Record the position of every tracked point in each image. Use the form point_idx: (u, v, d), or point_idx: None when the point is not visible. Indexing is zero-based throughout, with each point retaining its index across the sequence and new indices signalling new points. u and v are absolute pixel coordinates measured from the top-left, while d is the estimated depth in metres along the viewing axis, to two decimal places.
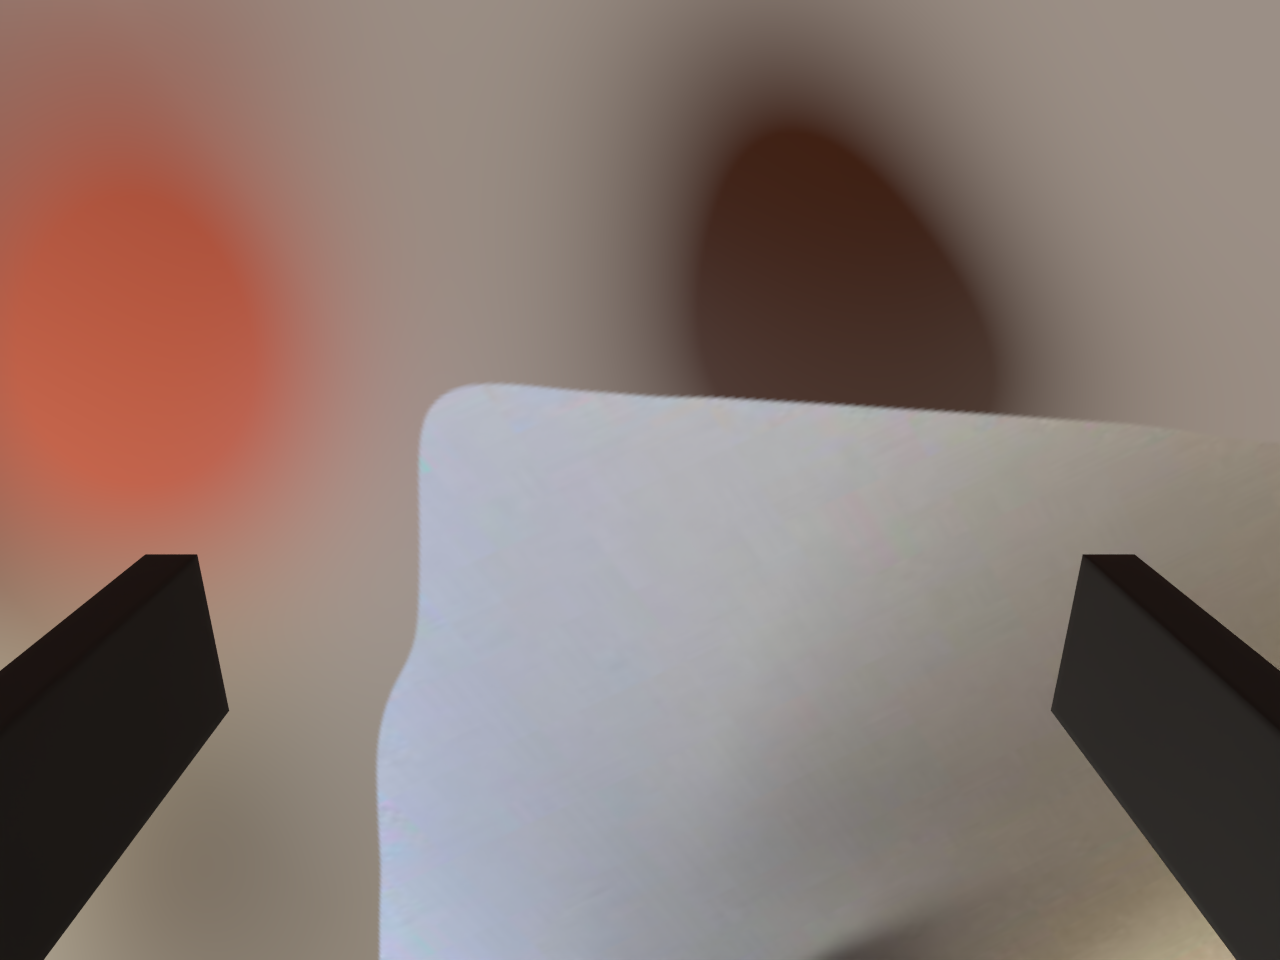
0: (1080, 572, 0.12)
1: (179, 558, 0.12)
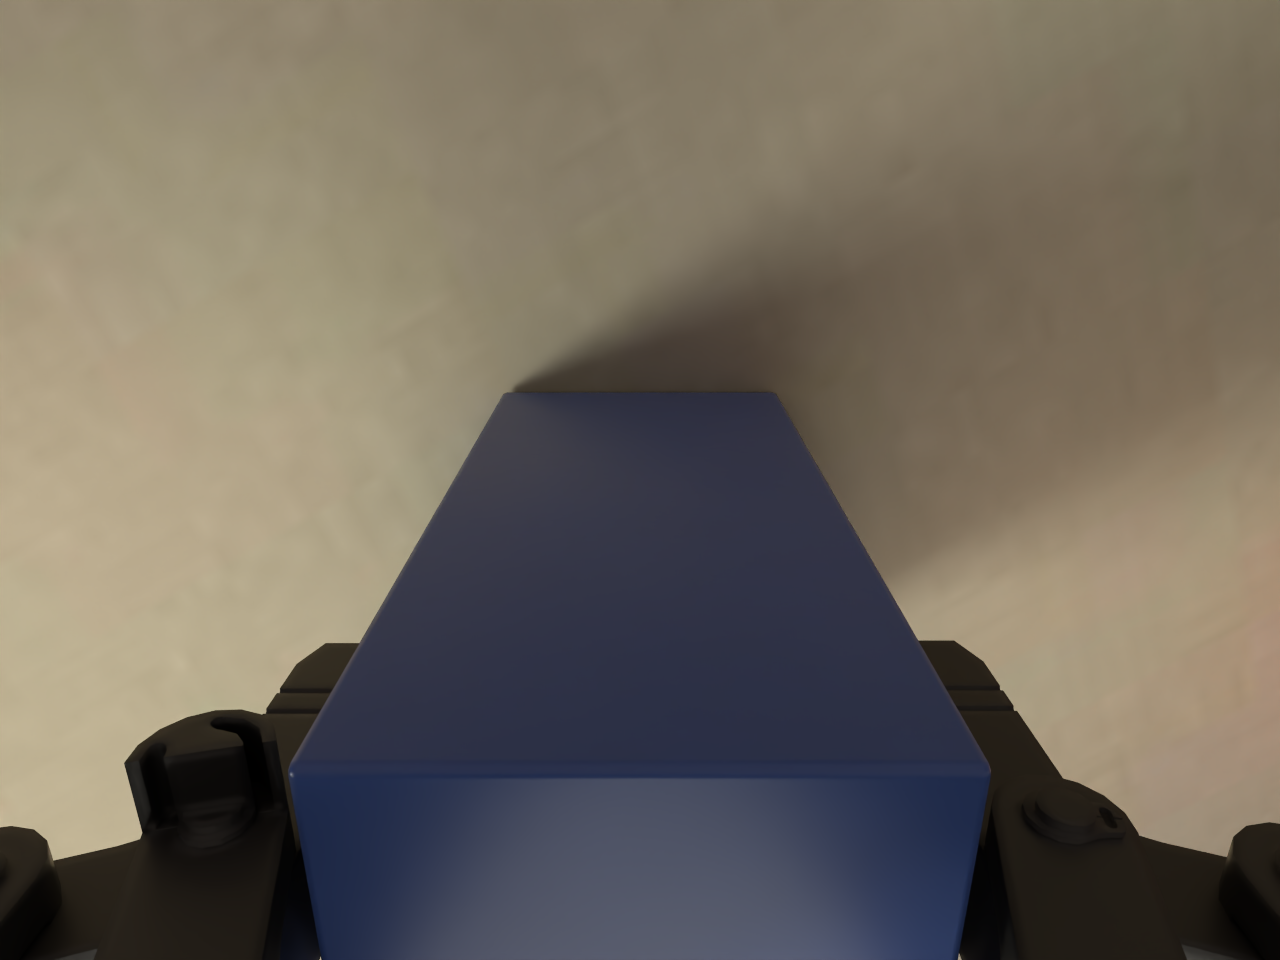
0: None
1: None
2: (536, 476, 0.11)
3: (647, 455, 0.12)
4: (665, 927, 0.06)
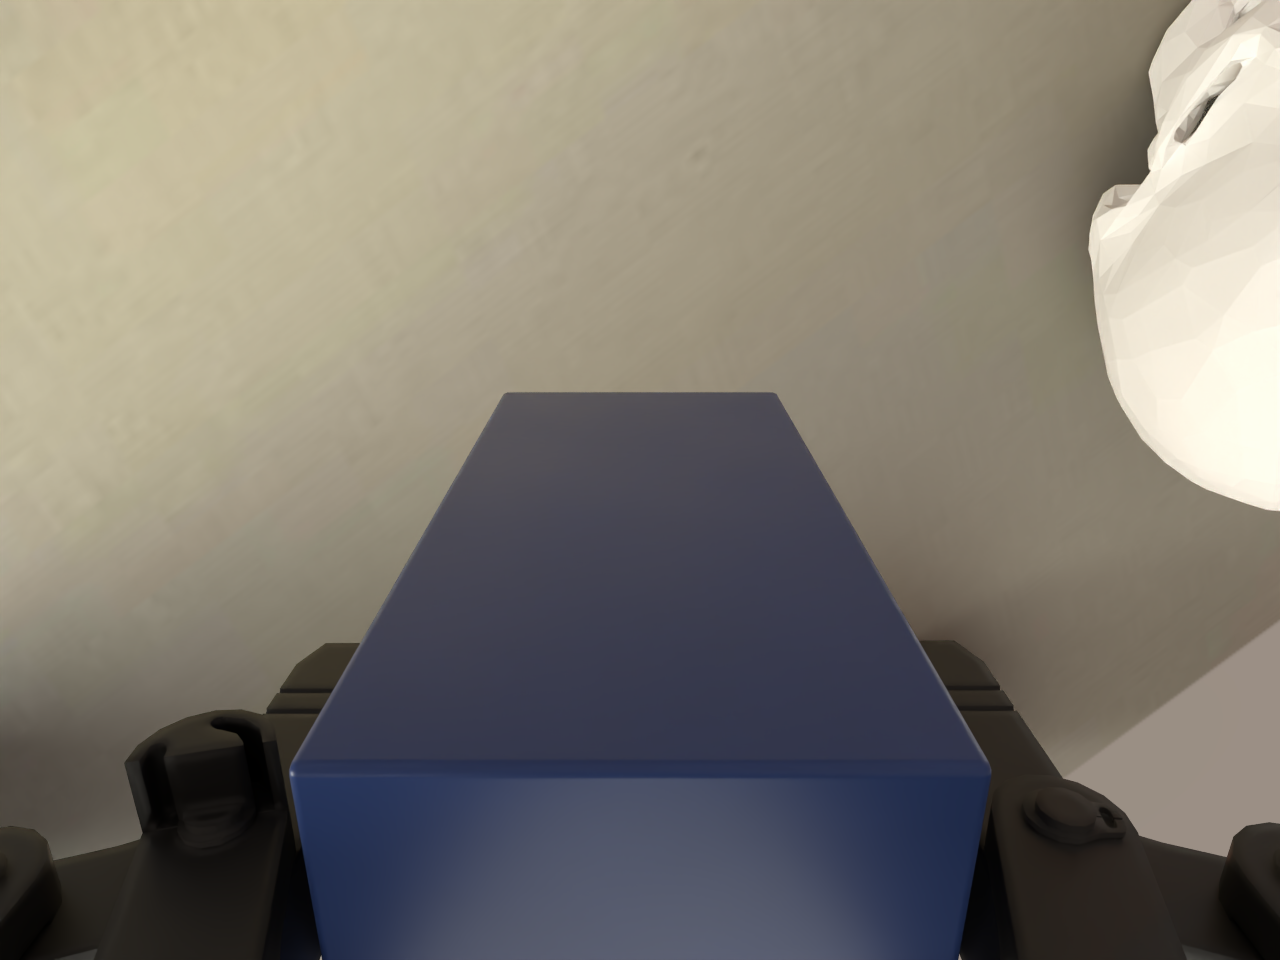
0: None
1: None
2: (537, 475, 0.11)
3: (647, 456, 0.12)
4: (666, 927, 0.06)
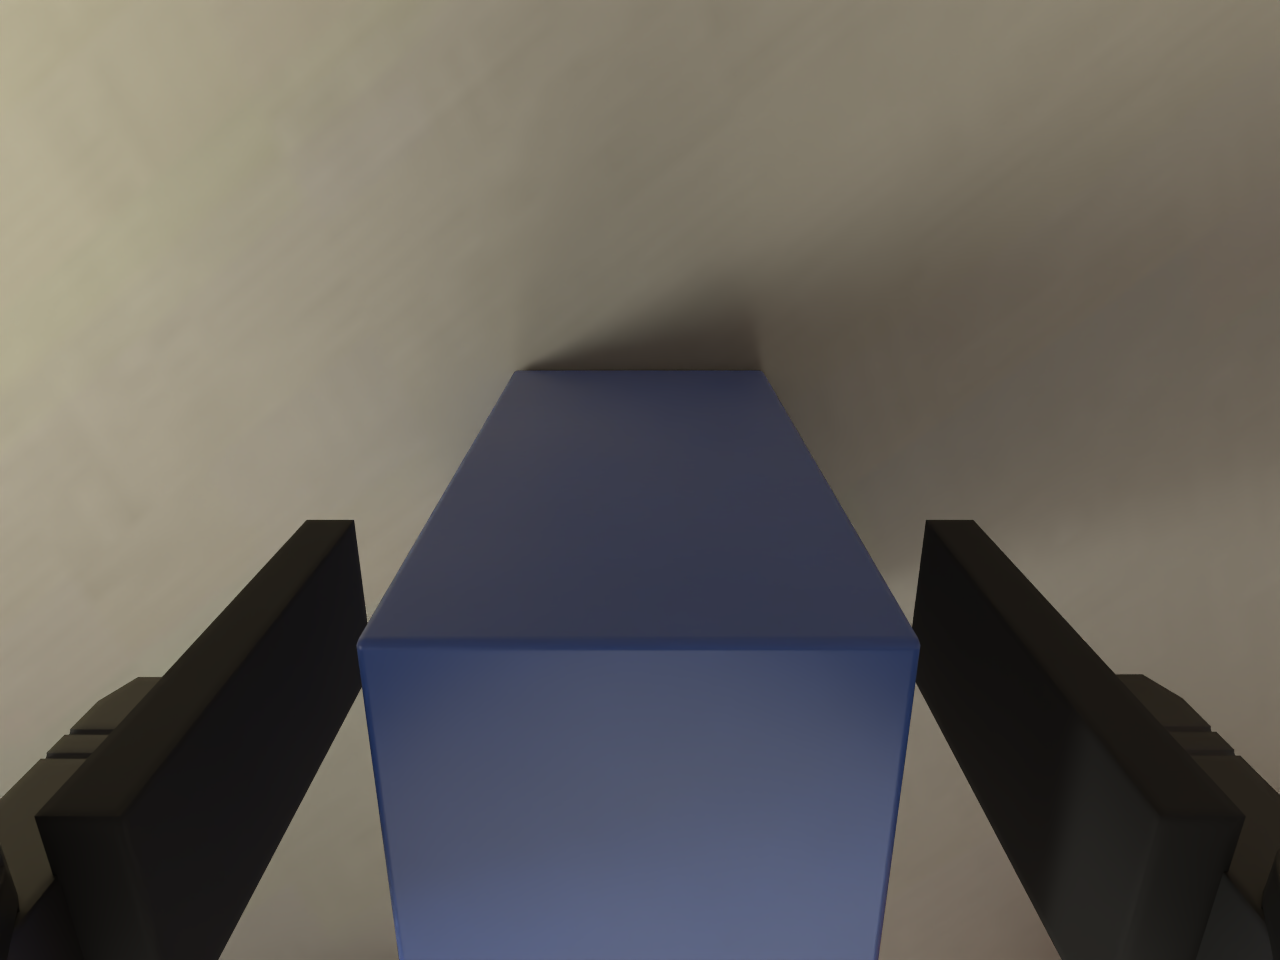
0: (924, 536, 0.14)
1: (339, 523, 0.13)
2: (547, 437, 0.13)
3: (645, 421, 0.14)
4: (660, 778, 0.08)
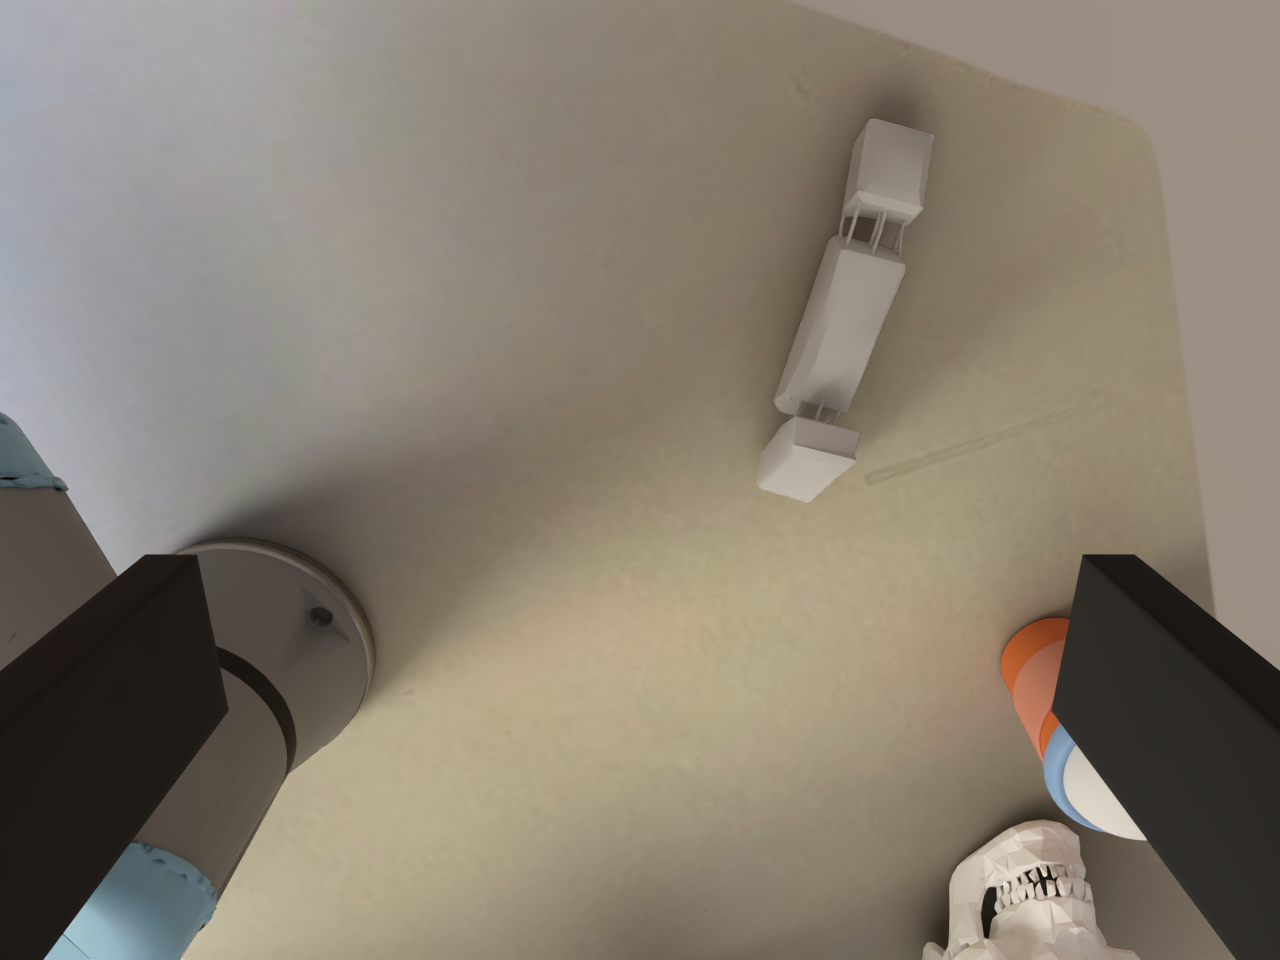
0: (1080, 572, 0.12)
1: (179, 558, 0.12)
2: None
3: None
4: None
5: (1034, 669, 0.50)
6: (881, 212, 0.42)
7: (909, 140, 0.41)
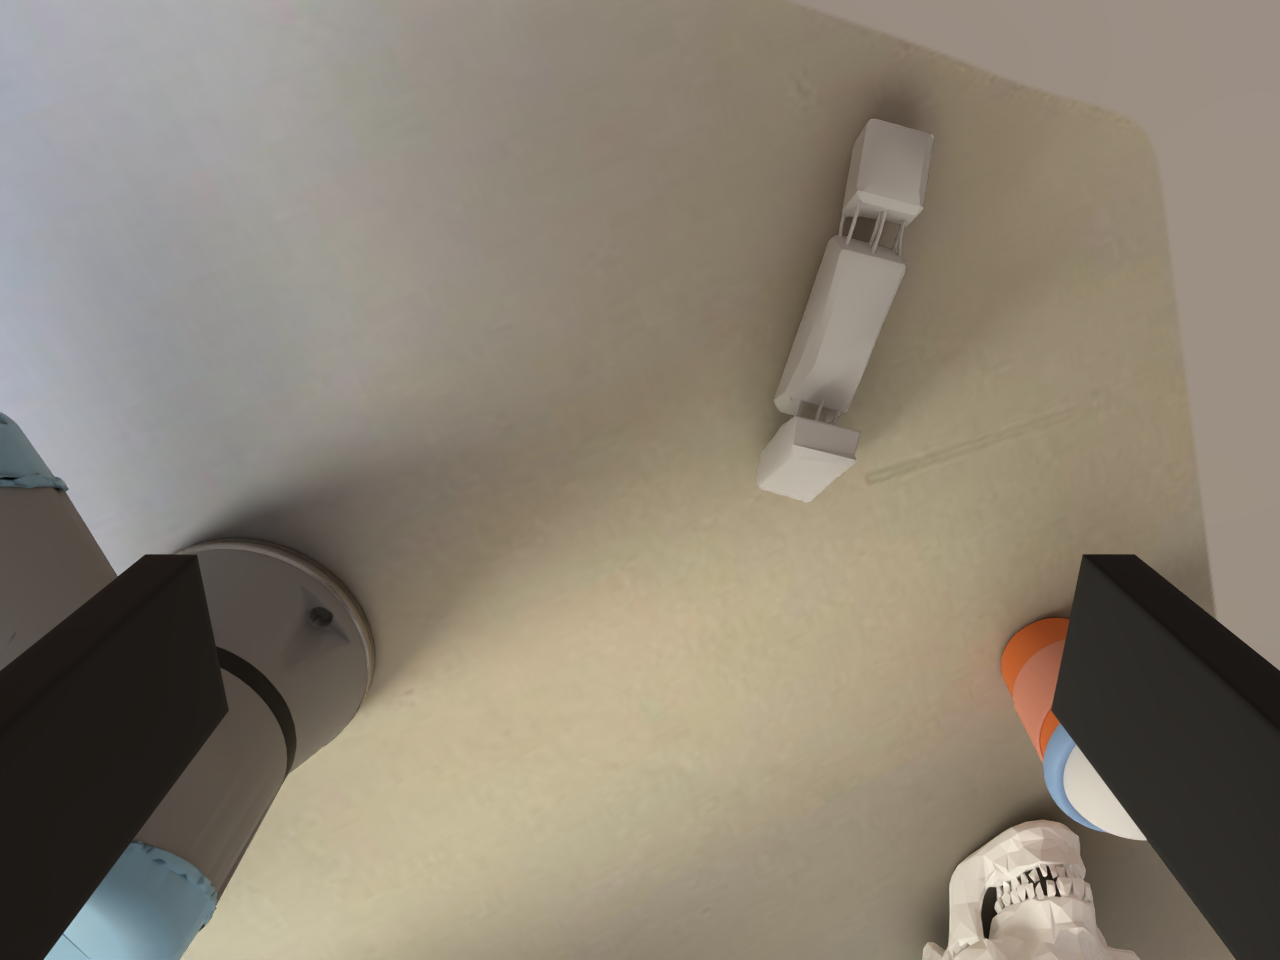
0: (1080, 572, 0.12)
1: (179, 558, 0.12)
2: None
3: None
4: None
5: (1034, 669, 0.50)
6: (881, 212, 0.42)
7: (909, 140, 0.41)
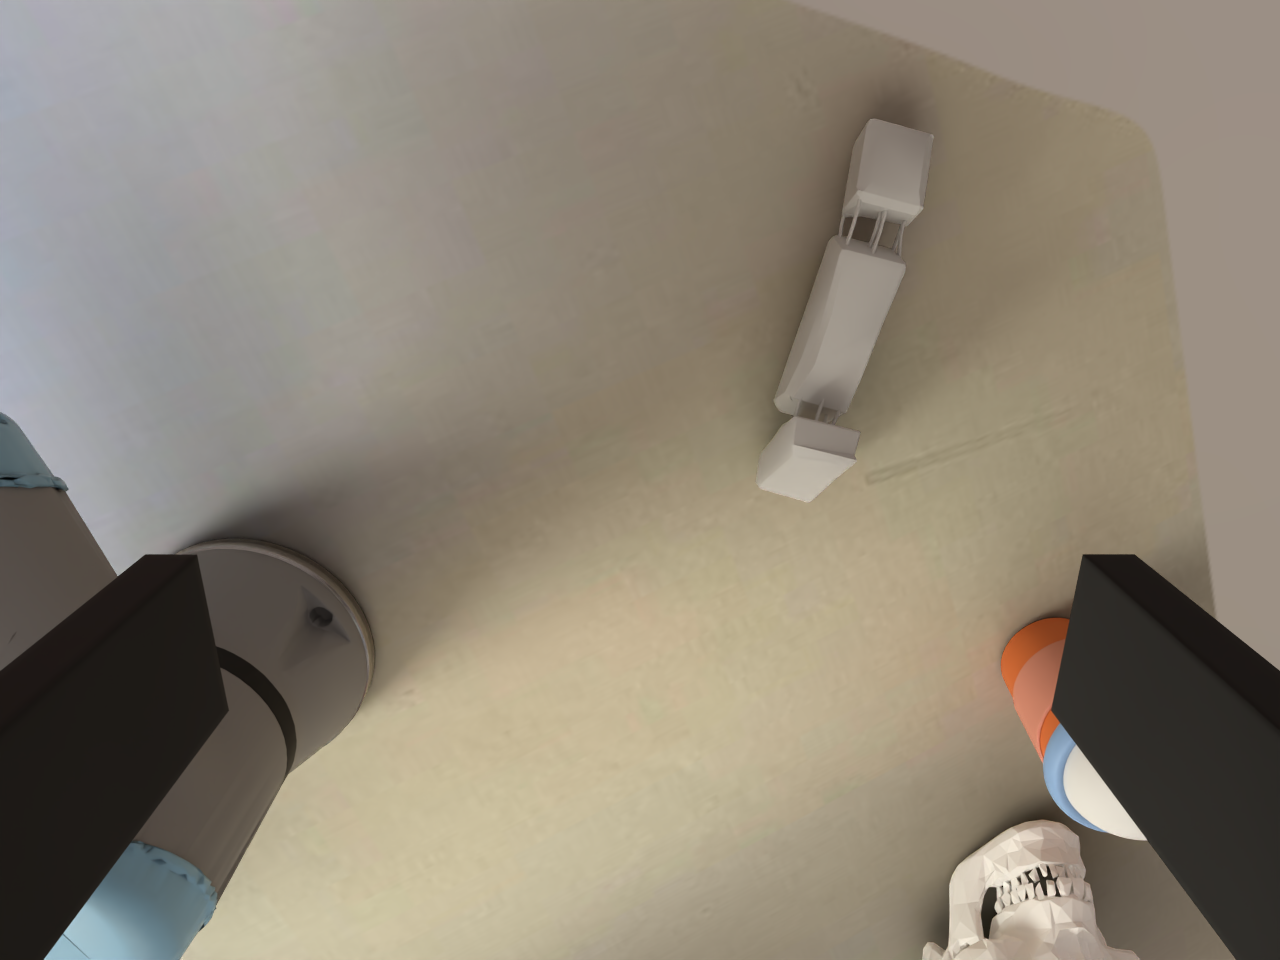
0: (1080, 572, 0.12)
1: (179, 558, 0.12)
2: None
3: None
4: None
5: (1034, 669, 0.50)
6: (881, 212, 0.42)
7: (909, 140, 0.41)
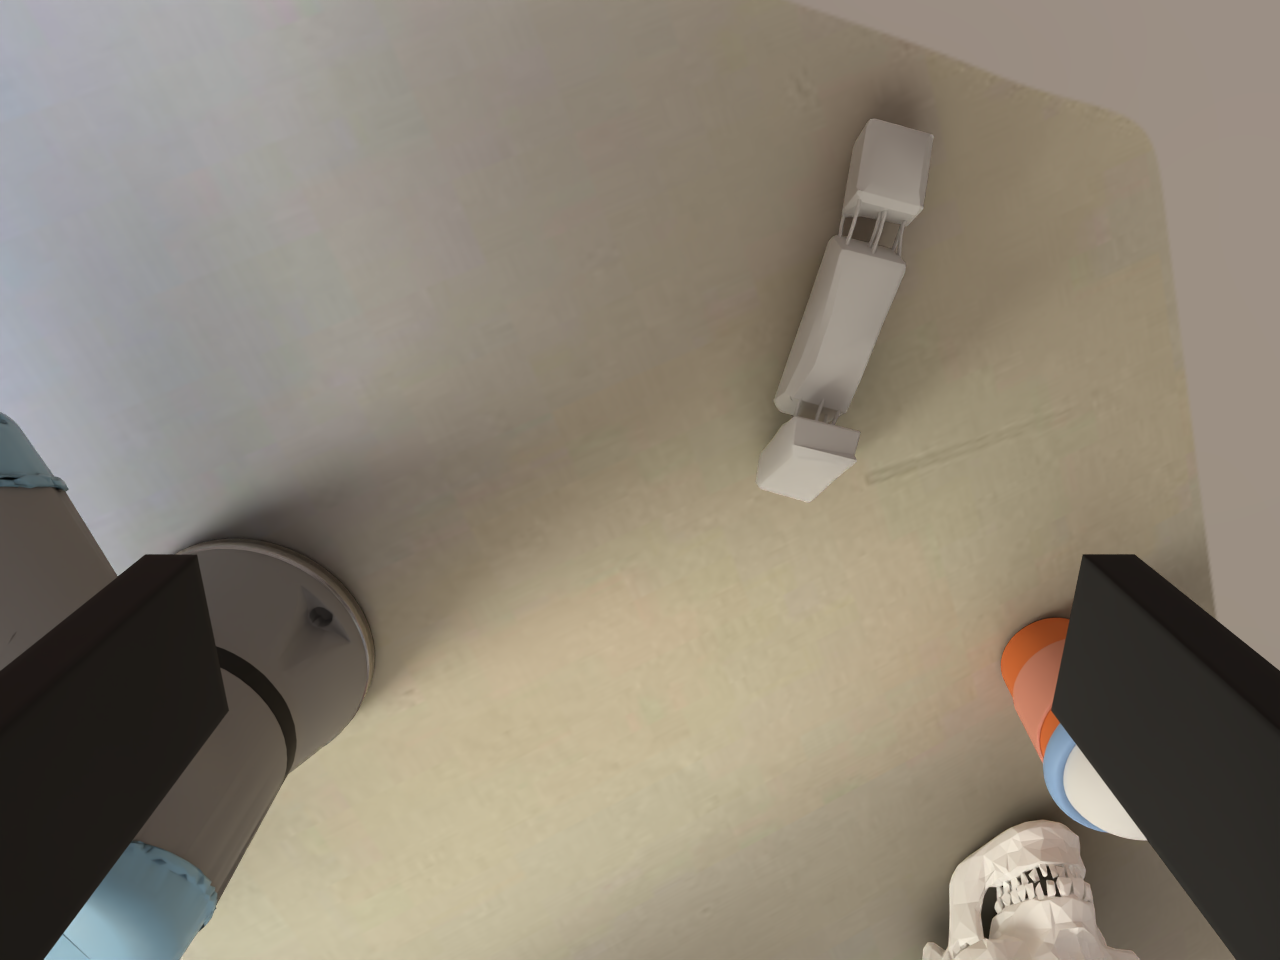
0: (1080, 572, 0.12)
1: (179, 558, 0.12)
2: None
3: None
4: None
5: (1034, 669, 0.50)
6: (881, 212, 0.42)
7: (909, 140, 0.41)
